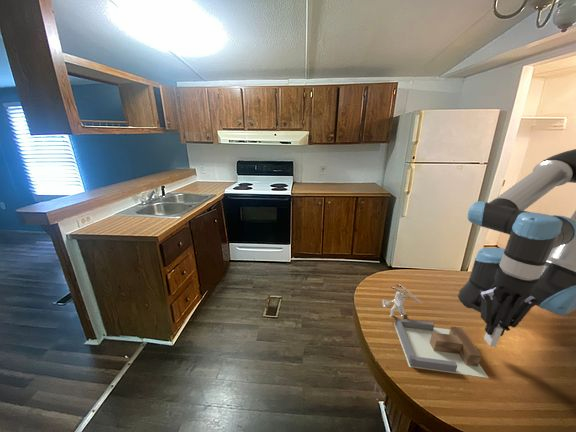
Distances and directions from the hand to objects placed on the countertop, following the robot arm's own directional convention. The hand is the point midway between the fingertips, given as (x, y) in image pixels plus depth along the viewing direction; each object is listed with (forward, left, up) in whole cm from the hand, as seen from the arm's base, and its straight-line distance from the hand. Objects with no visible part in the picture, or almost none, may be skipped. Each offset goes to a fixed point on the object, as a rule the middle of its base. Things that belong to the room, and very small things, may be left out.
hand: (489, 342), depth 66 cm
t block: (+10, 0, -5) cm, 11 cm away
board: (+14, 0, -6) cm, 15 cm away
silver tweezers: (+12, -25, -6) cm, 28 cm away
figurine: (+23, -12, -6) cm, 26 cm away
